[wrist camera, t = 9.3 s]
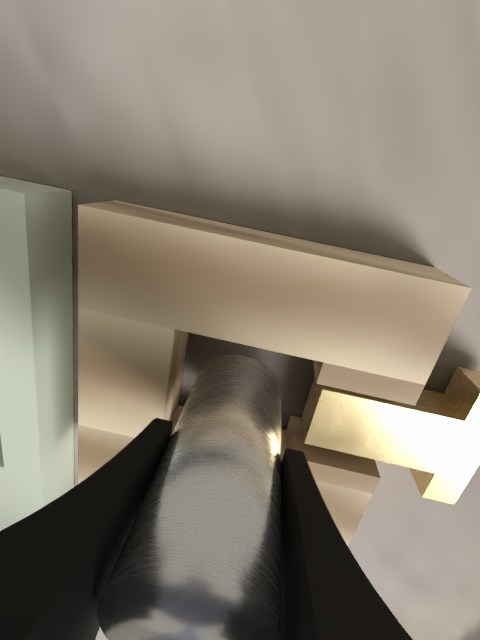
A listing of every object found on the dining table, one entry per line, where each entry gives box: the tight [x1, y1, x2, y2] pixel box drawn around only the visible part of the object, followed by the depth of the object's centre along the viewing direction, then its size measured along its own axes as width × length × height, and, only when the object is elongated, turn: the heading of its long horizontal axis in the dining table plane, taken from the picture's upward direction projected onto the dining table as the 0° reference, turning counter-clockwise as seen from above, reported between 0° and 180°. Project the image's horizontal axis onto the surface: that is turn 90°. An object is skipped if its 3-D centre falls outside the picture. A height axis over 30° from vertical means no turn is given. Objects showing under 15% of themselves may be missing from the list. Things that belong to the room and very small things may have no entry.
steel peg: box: [97, 355, 281, 640], centre depth 11 cm, size 4×4×9 cm
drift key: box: [302, 367, 480, 504], centre depth 16 cm, size 6×8×2 cm
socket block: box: [78, 200, 472, 546], centre depth 16 cm, size 14×14×3 cm
